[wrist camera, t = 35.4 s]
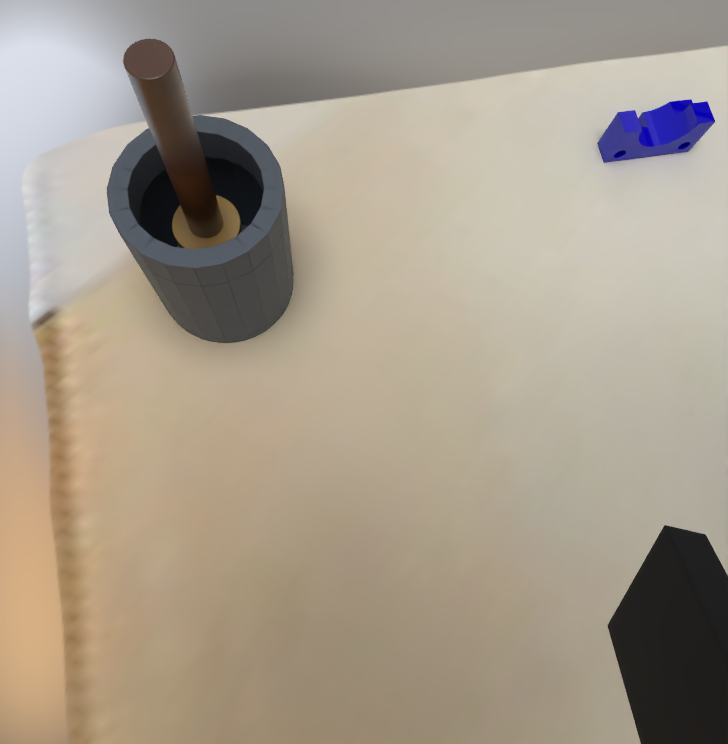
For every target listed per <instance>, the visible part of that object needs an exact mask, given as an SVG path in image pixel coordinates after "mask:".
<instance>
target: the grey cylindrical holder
mask: <svg viewBox="0 0 728 744" xmlns="http://www.w3.org/2000/svg"><path fill="white" fill-rule="evenodd" d="M193 120H194V123H195V127H196V130H197V133H198V137H199V140H200V144H201V147H202V150H203V154H204V157H205V160H206V164H207V167H208V171H209V174H210V177H211V181H212V184H213V188H214V191H215V194H216V195H218V196H221V197H223V198H225V199H227V200H228V201H229V202H231V203H232V204H233V205H234V206H235V208H236V209H237V211H238V213H239V216H240V220H241V224H242V232H241V233H240V234H239V235H238V236H236V237H235V238H233V239H230V240H228V241H226V242H224V243H222V244H220V245H218V246H213V247H207V248H200V249H187V248H180V246H179V245H178V243H177V241H176V239H175V237H174V234H173V230H172V220H173V216H174V214H175V212H176V210H177V209H178V207H179V206H180V203H179V200H178V198H177V195H176V193H175V191H174V188H173V186H172V183H171V181H170V178H169V176H168V173H167V171H166V168H165V166H164V163H163V161H162V158H161V156H160V153H159V151H158V148H157V146H156V143H155V141H154V138H153V136H152V134H151V131H150V129H146V130H145V131H144V132H143V133H141V134H140V135H139V136H138V137H136V138H135V139H134V140H132V141H131V142H130V143H129V144H128V145H127V146H126V148H125V149H124V150H123V152H122V153H121V155H120V156H119V158H118V159H117V161H116V162H115V164H114V166H113V167H112V171H111V175H110V179H109V183H108V186H107V197H108V206H109V213H110V216H111V218H112V220H113V222H114V224H115V226H116V228H117V230H118V232H119V233H120V235H121V237H122V239H123V240H124V242H125V243H126V245H127V247H128V248H129V250H130V251H131V253H132V254H133V256H134V258H135V259H136V261H137V263H138V264H139V266H140V267H141V269H142V270H143V272H144V274H145V275H146V277H147V278H148V280H149V282H150V283H151V285H152V286H153V288H154V290H155V291H156V293H157V294H158V296H159V298H160V299H161V301H162V302H163V304H164V306H165V307H166V309H167V310H168V312H169V313H170V315H171V316H172V317H173V318H174V320H175V321H176V322H177V323H178V324H179V325H180V326H181V327H183V328H184V329H185V330H186V331H188V332H189V333H191V334H193V335H195V336H197V337H199V338H202V339H205V340H208V341H213V342H223V343H229V342H238V341H243V340H246V339H249V338H252V337H255V336H257V335H259V334H261V333H262V332H264V331H265V330H267V329H268V328H270V327H271V326H272V325H273V324H274V323H275V322H276V321H277V320H278V319H279V318H280V317H281V315H282V314H283V313H284V311H285V309H286V307H287V305H288V304H289V301H290V298H291V295H292V290H293V266H292V257H291V247H290V237H289V228H288V218H287V208H286V199H285V189H284V183H283V178H282V173H281V168H280V166H279V163H278V162H277V160H276V158H275V157H274V155H273V153H272V152H271V150H270V148H269V147H268V146H267V144H266V143H264V142H263V141H262V140H261V139H260V138H258V137H257V136H256V135H255V134H254V133H253V132H251V131H250V130H248V128H245V127H243V126H241V125H238V124H236V123H234V122H231V121H229V120H227V119H223V118H216V117H209V116H201V115H199V116H193Z"/></svg>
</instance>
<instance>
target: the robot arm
mask: <svg viewBox="0 0 728 744" xmlns="http://www.w3.org/2000/svg"><path fill="white" fill-rule="evenodd" d="M608 629H609V632H610V636H611V639H612V643H613V646H614V650H615V654H616V657H617V661H618V664H619V668H620V671H621V675H622V678H623V682H624V685H625V689H626V692H627V696H628V699H629V703H630V706H631V710H632V713H633V717H634V720H635V724H636V728H637V731H638V735H639V738H640V742H641V744H728V575H727V574H726V572H725V570H724V568H723V566H722V564H721V562H720V561H719V559H718V557H717V555H716V553H715V551H714V549H713V548H712V546H711V544H710V542H709V540H708V538H707V536H706V535H705V534H700V533H696V532H692V531H688V530H683V529H679V528H675V527H670V526H666V525H665V526H664V527H663V529H662V531H661V533H660V534H659V536H658V538H657V540H656V541H655V543H654V545H653V547H652V548H651V550H650V552H649V554H648V555H647V557H646V559H645V561H644V562H643V564H642V566H641V568H640V569H639V571H638V573H637V575H636V576H635V578H634V580H633V582H632V583H631V585H630V587H629V589H628V591H627V592H626V594H625V596H624V598H623V599H622V601H621V603H620V605H619V606H618V608H617V610H616V612H615V613H614V615H613V617H612V619H611V620H610V622H609V624H608Z"/></svg>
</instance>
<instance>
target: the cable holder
mask: <svg viewBox="0 0 728 744" xmlns="http://www.w3.org/2000/svg"><path fill="white" fill-rule="evenodd" d="M714 122H715V120H714V117H713V115H712V112H711V110H710V107H709V105H708V102H700V103H693V102H692V100H691V99H690V100H682V101H674V102H669V103H667V104H666V105H664V106H662V107H660V108H657V109H655V110H652V111H648V112H643V113H642V114H641V116H640V117H639V118H638V117H637V115H636V112H635V110H634V111H625V112H618V113H617V115H616V116H615V118H614V119H613V121H612V122H611V124H610V125H609V127H608V128H607V130H606V131H605V133H604V134H603V136H602V137H601V139H600V140H599V142H598V146H599V149H600V152H601V155H602V158H603V161H604V162H612V161H620V160H627V159H635V158H643V157H650V156H658V155H666V154H674V153H681V152H688V151H689V150H690V149H691V148H692V147H693V146H694V145H695V143H696V142H697V141H698V140H699V139H700V138H701V137H702V136H703V135H704V134H705V132H706V131H707V130H708V129H709V128H710V127H711V126H712V125H713V124H714Z"/></svg>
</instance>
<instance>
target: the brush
mask: <svg viewBox="0 0 728 744" xmlns="http://www.w3.org/2000/svg"><path fill="white" fill-rule="evenodd" d="M123 62H124V67H125V69H126V71H127V74H128V77H129V79H130V81H131V84H132V86H133V89H134V91H135V94H136V96H137V99H138V101H139V104H140V106H141V109H142V111H143V114H144V116H145V119H146V121H147V124H148V126H149V129H150V131H151V134H152V136H153V138H154V141H155V143H156V146H157V148H158V151H159V153H160V156H161V158H162V161H163V163H164V166H165V168H166V171H167V173H168V176H169V178H170V181H171V183H172V186H173V188H174V191H175V193H176V195H177V198H178V200H179V203H180V206H179V207H178V209H177V210H176V212H175V214H174V216H173V220H172V230H173V234H174V237H175V239H176V241H177V243H178V245H179V246H180V248H187V249H200V248H207V247H213V246H218V245H220V244H222V243H224V242H226V241H228V240H230V239H233V238H235V237H236V236H238V235H239V234H240V233H241V232H242V224H241V220H240V216H239V213H238V211H237V209H236V208H235V206H234V205H233V204H232V203H231V202H229V201H228V200H227V199H225V198H223V197H221V196H218V195H216V194H215V191H214V188H213V184H212V181H211V177H210V174H209V171H208V167H207V164H206V160H205V157H204V154H203V150H202V147H201V144H200V140H199V137H198V133H197V130H196V127H195V123H194V120H193V116H192V113H191V110H190V107H189V103H188V99H187V96H186V93H185V90H184V86H183V83H182V79H181V76H180V72H179V69H178V66H177V63H176V59H175V56H174V53H173V51H172V49H171V48H170V47H169V46H168V45H167V44H166V43H164V42H162V41H160V40H156V39H144V40H140V41H138V42H135V43H134V44H132V45H131V46H130V47H129V48H128V49H127V50H126V52H125V54H124V59H123Z"/></svg>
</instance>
